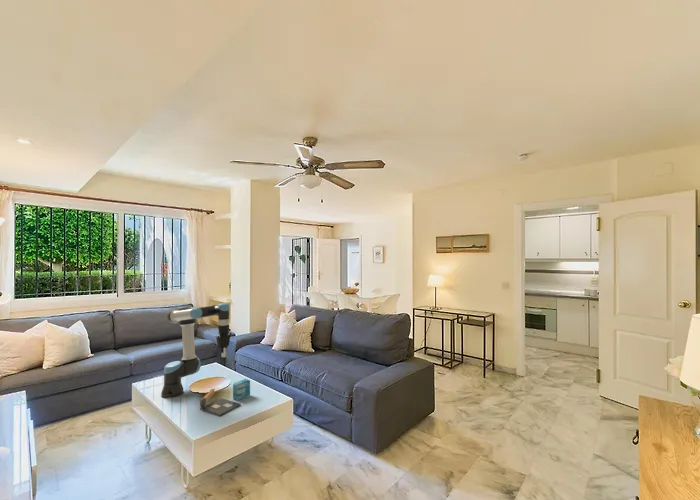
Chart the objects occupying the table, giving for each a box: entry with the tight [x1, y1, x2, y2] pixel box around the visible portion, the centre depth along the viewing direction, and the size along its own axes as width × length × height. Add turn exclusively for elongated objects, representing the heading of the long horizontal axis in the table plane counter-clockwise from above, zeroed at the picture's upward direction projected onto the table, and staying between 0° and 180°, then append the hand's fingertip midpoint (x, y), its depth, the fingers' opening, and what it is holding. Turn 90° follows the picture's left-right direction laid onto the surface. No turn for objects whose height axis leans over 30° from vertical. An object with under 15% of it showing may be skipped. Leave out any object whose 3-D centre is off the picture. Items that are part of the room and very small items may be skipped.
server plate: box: [199, 397, 242, 417], centre depth 229 cm, size 20×18×3 cm
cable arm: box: [199, 388, 216, 407], centre depth 235 cm, size 21×4×4 cm, turn 3°
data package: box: [232, 378, 251, 401], centre depth 245 cm, size 12×4×12 cm, turn 143°
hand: (223, 356), depth 240 cm, fingers closed
